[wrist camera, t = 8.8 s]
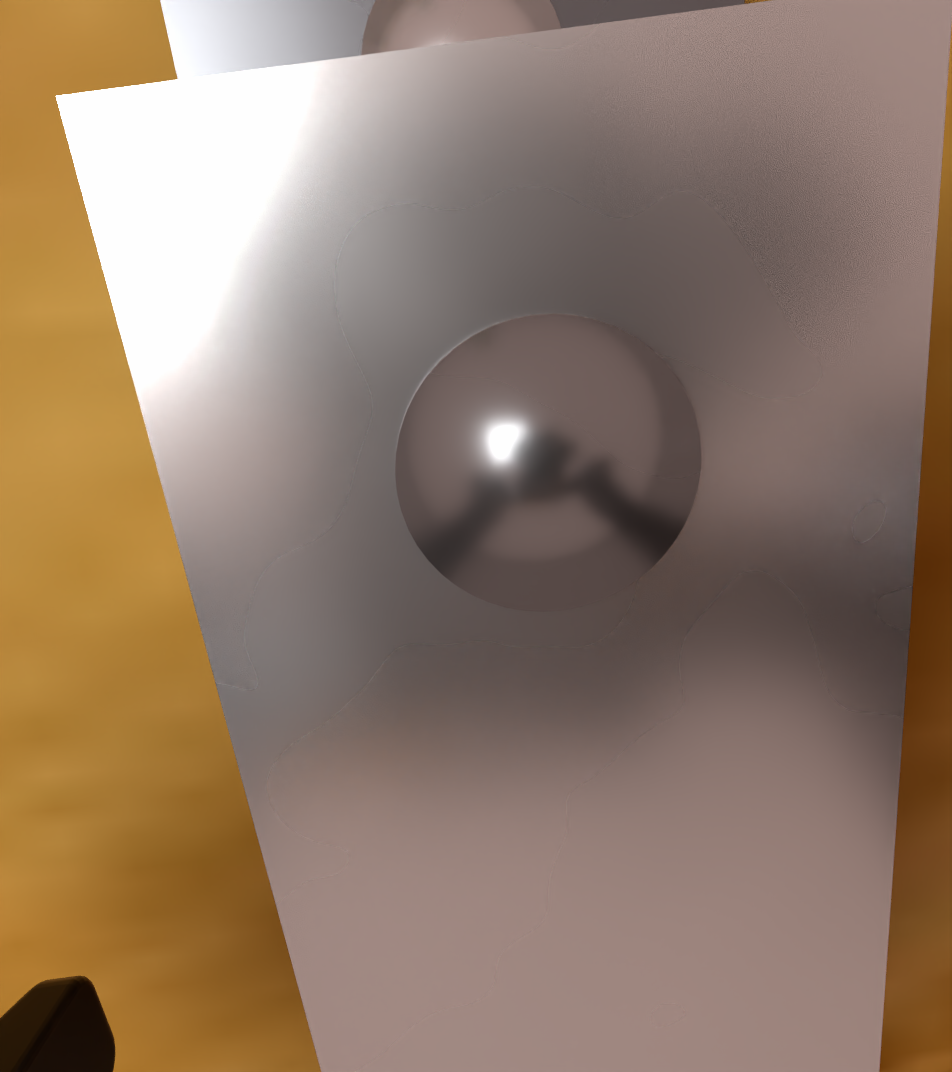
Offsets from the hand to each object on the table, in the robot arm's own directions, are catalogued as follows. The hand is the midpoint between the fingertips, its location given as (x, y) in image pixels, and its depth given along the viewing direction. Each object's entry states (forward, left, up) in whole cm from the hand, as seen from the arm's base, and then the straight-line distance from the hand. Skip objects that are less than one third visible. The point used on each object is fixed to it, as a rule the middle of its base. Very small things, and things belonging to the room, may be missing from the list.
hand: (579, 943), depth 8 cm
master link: (0, 0, -2) cm, 2 cm away
